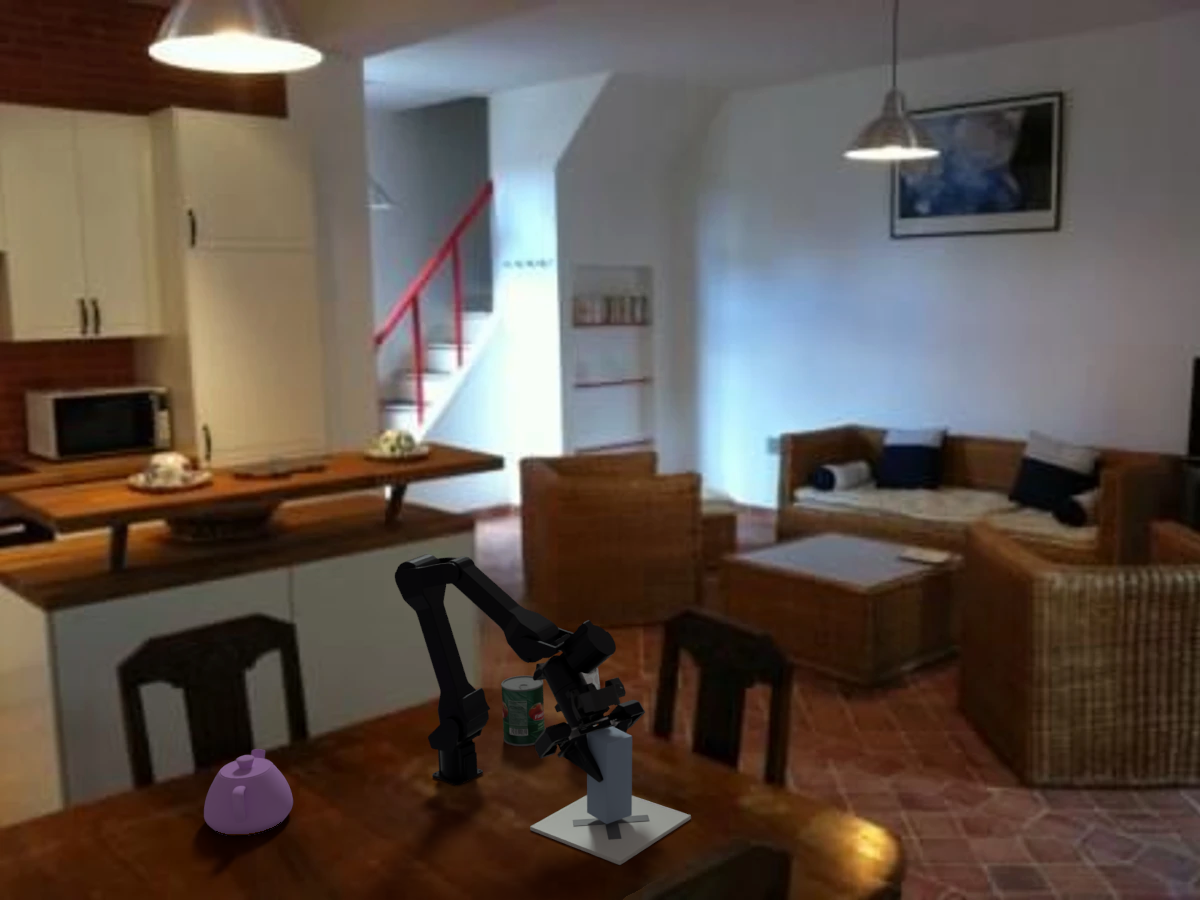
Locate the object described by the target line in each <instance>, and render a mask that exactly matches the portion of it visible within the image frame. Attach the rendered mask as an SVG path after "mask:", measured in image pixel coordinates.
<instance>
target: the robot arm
mask: <svg viewBox="0 0 1200 900" xmlns="http://www.w3.org/2000/svg"><path fill="white" fill-rule="evenodd" d="M394 581H395V583H396V587H397V588H398V590H399V593H400V596H401V597H402V599H403V600H404V602H405V603H407V605H408V606H409V607H411V609H412V610H413V611H414V612H415V613H416V616H417V620H418V623H419V626H420V629H421V632H422V636H423V640H424V642H425V645H426V648H427V651H428V654H429V655H428V656H429V659H430V661H431V665H432V668H433V670H434V671H433V672H434V675H435V677H436V680H437V684H438V687H439V700H438V705H437V714H438V721H439V725H438V726H437V727H436V728H435V729H434V730H433V731H432V732H431V733H430V734H429V735H428V737H427V739H428V743H429V744H430V748H431V749H433V750H437V757H438V758H437V759H438V771H435V772H433V773H432V774H431V776H432V777H433V778H435V779H436V780H437V779H438V780H439V781H443V782H445V783H448V784H450V785H454V786H460V785H462V784H464V783H466V782H468V781H470V780H473V779H474V778H476V777H478V776H480V775H482V774H484V771H483V769H480V768H478V759H477V758H478V755H477V752H476V742H475V741H473V740H474V739H475V738H477V737H480V736H481V735H482V732H483V729H484V727H485V726H486V725H487V723H488V721H489V719H490V715H489V714H490V713H489V710H490V709H491V707H490V706H489V704H488V702H487V700H486V695H485V690H484V689H483V687H479V688H478V689H476V688H475V687H474V686H473V685H472V684H471V683H470V682H469V681H468V678H467V674H466V671H465V668H464V665H463V661H462V658H461V655H460V651H459V648H458V645H457V642H456V639H455V636H454V632H453V629H452V627H451V623H450V620H449V617H448V613H447V611H446V607H445V595H446V590H447V585H451V584H452V585H453V586H454V587H455V588H457V589H456V590H458V591H459V592H460V593H462V594H463V595H464V596H465V597H466V598H467V599H468V600H470V602H472V603H473V604H474V605H475V606H476V607H477V608H478V609H479V610H480V611H481V612H483V613H484V614H485V615H486V616H487V617H488V618H489V619H490V620H491V621H492V622H494V623H495V624H496V626H498V627H499V628H500V629H501V631H502V632H503V635H504V637H505V640H506V642H507V645H508V646H509V648H511V650H512V651H513V652H514V653H515V654H516V656H517V657H518V658H519V659H520V660H521V661H523V662H525V663H528V664H529V663H536V665H535V670H534V672H533V675H532V676H533V680H534V681H535V680H543V681H544V680H545V682H546V683H547V685H548V688H549V689H550V691H551V693H552V695H553V697H554V699H555V701H556V704H555V706H554V709H555V712H556V713H560V712H561V713H562V714H563V715H562V716H563V717H564V718H565V721H566V722H565V721H563V722H558V723H556V724H553V725H550V726H547V727H545V730H544V731H543V732H542V733H541V735H540V736H539V737H538V738H537V739H536V741H535V745H534V750H535V751H536V754H537V756H538V758H539V759H544V758H547V757H550V756H553V755H555V754H556V753H557V749H559V750H560V751H559V752H558V753H557V754H556V755H557V757H558V758H564V759H566V760H567V761H569V762H571V763H572V764H574V765H575V766H576V767H578V768H579V769H580V770H582V771H583V772H585V773H586V775H587V774H588V775H590V776H591V777H592V778H594V779H595V780H596V781H597V782H599V783H600V782H602V781H603V776H602V774H601V771H600V769H599V767H598V765H597V763H596V761H595V759H594V757H593V755H592V753H591V752H590V750H589V748H588V742H587V734H588V733H591V732H595V731H598V730H602V729H605V728H608V727H612V726H613V727H615V728H617V729H619V730H621V731H623V732H625V733H627V731H628V730H629V729H631V728H632V727H633V726H634V725H635V724H636V723H637V722H638V721H639V719H640V718H642V716H643V715H644V714H646V711H645V709H644V707H643V706H642V703H641V702H640V701H639V700H636V699H632V700H631V699H630V700H628V701H625V702H622V703H621V700H620V699H621V698H622V697H623V698H624V697H626V693H627V692H626V689H625V686H624V684H623V683H622V681H621V679H620V678H619V676H617V677H614V678H611V679H608V680H605V681H604V687H602V688H601V687H600V689H598V690H597V688H596V687H595V685H594V684H593V683H590V684H587V682H586V680H585V678H584V676H583V674H582V673H585V674H589V673H592V672H593V671H594V670H595V669H596V668H599V667H600V666H601V665H602V664H603V663H604V662H605V661H607V660H608V659H609V658H610V657H611V656H612V655H614V653H615V652H616V650H617V648H616V641H615V640H614V637H613V636H612V634H611V633H610V632H609V631H606V630H605V629H604V628H602V627H601V626H598V625H595V624H593V623H592V621H591V620H589V619H588V620H586V621H584V622H582V623H581V624H580V625H579V626H578V627H577V629H576V630H575V631H574V632H572V631H568V630H566V629H563V628H560V627H558V626H557V625H556V623H554V622H553V621H551V620H550V619H548V618H547V617H545V616H544V615H543V614H541V613H539V612H537V611H534V610H533V611H532V610H529V609H527V608H525V607H523V606H522V605H520V604H519V603H518V602H517V601H516V600H514V599H513V598H512V597H511V596H510V595H509V594H508V593H507V592H505V591H504V589H502V588H501V587H500V586H499V585H498V584H497V583H495V582H494V581H493V580H492V579H491V578H490V577H489V576H488V575H487V574H486V573H484V571H482V570H481V569H480V568H479V567H478V566H476V564H475V561H474V560H473V559H472V558H470V557H468V556H459V557H455V556H453V557H452V556H447V557H445V556H444V557H436V556H434V555H432V554H429V553H428V554H423V555H420V556H417V557H414V558H412V559H409V560H407V561H404V562H401V563H400V564H399V565H398V566H397V569H396V571H395V572H394ZM560 652H561V654H558V653H560ZM557 654H558V655H557ZM543 659H547V660H546V661H545V662H541V663H540V662H539V661H540V660H543ZM537 662H539V663H537ZM611 706H615V707H614V708H613V709H612V711H611V712H609V714H606V715H604V714H605V713H607V712H608V711H609V710H610V709H611V708H610V707H611ZM567 723H568V724H567ZM593 725H594V726H593ZM595 725H597V726H595ZM627 734H628V733H627Z"/></svg>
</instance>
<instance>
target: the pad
mask: <svg viewBox="0 0 1200 900" xmlns="http://www.w3.org/2000/svg"><path fill="white" fill-rule="evenodd" d="M691 819H692V816H691V814H689V813H688V814H687V813H685V812H683V811H680V810H677V809H673V808H671V807H667V806H664V805H661V804H659V803H655V802H652V801H649V800H648V799H647V800H646V799H643V798H642V797H641V798H640V797H638V796H635V795H632V815H631V816H628V817H625V818H622V819H620V820H617V821H614V822H611V823H608V824H605V823H604V822H602V821H600V820H599V819H597V818H595V817H594V816H592V815H590V814H589V813H587V794H586V795H584V796H583V797H580V798H579V799H577V800H575V801H574V802H572V803H570V804H568V805H566V806H565V807H563V808H561V809H558V811H555V812H554V813H552V814H550V815H548V816H547V817H544V818H543V819H541V820H540V821H538V822H536V823H534V824H532V825H530V827H529V828H530V831H531V832H534V833H537V834H540V835H541V836H544V837H547V838H549V839H553V840H555V841H557V842H560V843H563V844H565V845H567V846H570V847H571V848H572V847H573V848H575V849H578V850H579V851H580V850H581V851H583V852H586V853H589V854H591V855H593V856H595V857H598V858H601V859H603V860H606V861H608V862H611V863H612V864H615V865H619V866H621V865H622V864H624V863H626V862H627V861H629V860H630V859H632V858H634V857H635V856H636V855H638V854H640V853H641V852H643V851H644V850H645V849H647V848H649V847H650V846H652V845H653V844H654V843H656V842H657V841H660V840H661V839H662V838H664V837H665V836H667V835H668V834H670V833H672V832H673V831H675V830H676V829H678V828H679V827H681V826H682V825H684V824H685V823H687V822H689V821H690V820H691Z"/></svg>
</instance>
